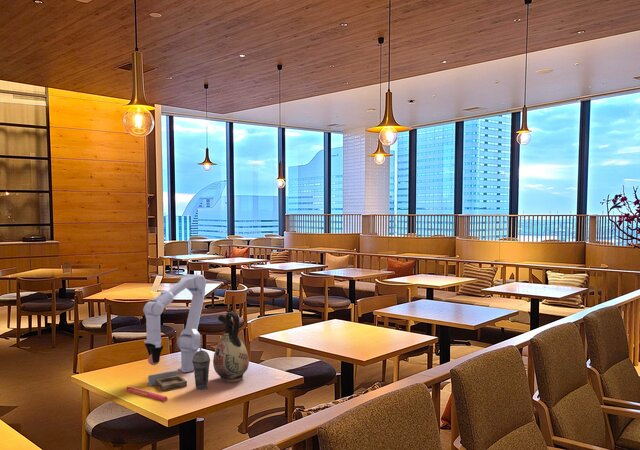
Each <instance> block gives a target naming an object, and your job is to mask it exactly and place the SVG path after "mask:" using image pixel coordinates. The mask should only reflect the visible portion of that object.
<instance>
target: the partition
mask: <svg viewBox="0 0 640 450" xmlns="http://www.w3.org/2000/svg"><path fill="white" fill-rule="evenodd" d="M177 375H178V370H175V369H174V370H171V371H164V372H160V373H155V374H149V375H148V377H147V379H148V382H147V385H148V386H149V387H152V386H155V385H156V380H157V379H162V378H167V377H172V376H177Z"/></svg>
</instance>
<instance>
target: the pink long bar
mask: <svg viewBox="0 0 640 450" xmlns="http://www.w3.org/2000/svg"><path fill="white" fill-rule="evenodd" d="M126 392H129V393H133V394H135V395H140V396H143V397H148V398H152V399H155V400H158V401H162V402H167V401H168V400H169V399H168V396H166V395H163V394H159V393H155V392H152V391H148V390H145V389H141V388H138V387H135V386H127V387H126Z"/></svg>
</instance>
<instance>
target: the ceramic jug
mask: <svg viewBox="0 0 640 450" xmlns="http://www.w3.org/2000/svg"><path fill="white" fill-rule="evenodd" d="M217 320H218V322H220V323H222V324H224V328H225V330H224V332H223V335H222V336H221V338H220V340H219V342H218V343H217V345H216V347H215V350H214V353H213V359H212V363H213V364H212V366H213V369H214V371H215V373H216V374H217V375H218V376H219V378H220V379H221V381H223V382H226V383H232V382H233V383H234V382H239V381H241V380H243V379H244V374H245V373H246V372H247V370H248V368H249V365H250V357H249V353H248V352H249V351H248V350H247V348H246V345H245V344H244V343H243V341H242V338H241V337H239V331H240V330H239V329H240V317H239V314H238V313H237V312H235V311H228V312H226V314H225V315H224V314H220V315H219V316H218V317H217Z"/></svg>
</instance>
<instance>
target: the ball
mask: <svg viewBox="0 0 640 450" xmlns="http://www.w3.org/2000/svg"><path fill="white" fill-rule="evenodd" d="M160 361H161V357H160V358H159V362H157V363H153V359H152V354H150V355H149V354H148V358H147V362H148V364H149V365H151V366H155V365H157V364H159V363H160Z"/></svg>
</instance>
